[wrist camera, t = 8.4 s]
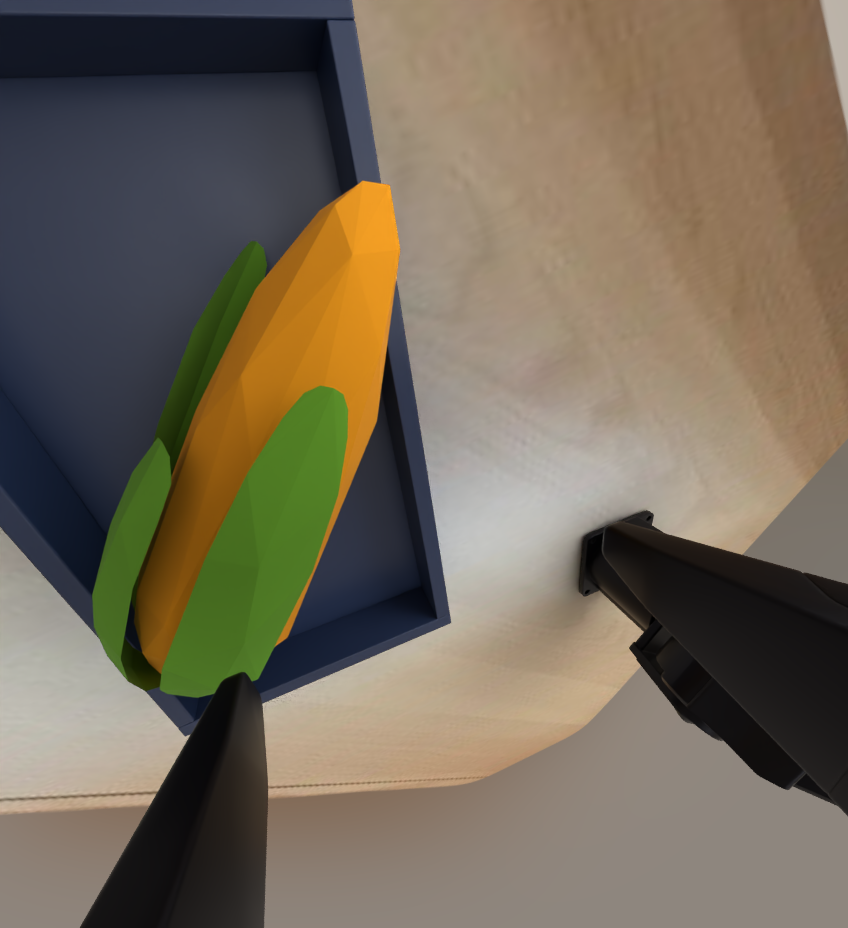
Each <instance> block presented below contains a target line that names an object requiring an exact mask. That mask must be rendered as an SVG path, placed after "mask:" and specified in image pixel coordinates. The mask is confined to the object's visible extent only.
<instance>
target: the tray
mask: <svg viewBox="0 0 848 928" xmlns="http://www.w3.org/2000/svg"><path fill="white" fill-rule="evenodd" d="M362 181H368V182H374V183H380V184H381V180H380V174H379V167H378V161H377V155H376V149H375V142H374V136H373V130H372V123H371V117H370V111H369V105H368V98H367V92H366V86H365V80H364V73H363V67H362V61H361V54H360V48H359V42H358V36H357V29H356V23H355V21H354V11H353V5H352V0H0V527H1V528H2V529H3V531H4V532H5V533H6V534H7V535H8V536H9V537H10V538H11V540H12V541H13V542H14V543H15V544H16V545H17V546H18V548H19V549H20V550H21V551H22V552H23V553H24V554H25V555H26V557H27V558H28V559H29V560H30V561H31V562H32V563H33V564H34V566H35V567H36V568H37V569H38V570H39V571H40V572H41V574H42V575H43V576H44V577H45V578H46V579H47V580H48V581H49V583H50V584H51V585H52V586H53V587H54V588H55V589H56V590H57V592H58V593H59V594H60V595H61V596H62V597H63V598H64V600H65V601H66V602H67V603H68V604H69V605H70V606H71V607H72V609H73V610H74V611H75V612H76V613H77V614H78V615H79V616H80V618H81V619H82V620H83V621H84V622H85V623H86V624H87V625H88V627H89V628H90V629H91V630H92V631H93V632H94V633H95V635H96V636H97V637H98V635H97V633H96V630H95V628H94V618H93V600H92V594H93V590H94V586H95V582H96V578H97V574H98V570H99V567H100V563H101V559H102V555H103V551H104V547H105V543H106V539H107V535H108V531H109V527H110V524H111V521H112V519H113V517H114V514H115V512H116V510H117V507H118V505H119V503H120V500H121V498H122V496H123V493H124V491H125V489H126V486H127V484H128V481H129V479H130V477H131V474H132V472H133V471H134V469H135V468H136V467H137V465H138V464H139V463H140V461H141V460H142V458H143V457H144V456H145V454H146V453H147V452H148V450H149V449H150V448H151V446H152V445H153V441H154V437H155V433H156V430H157V426H158V423H159V420H160V417H161V415H162V412H163V409H164V407H165V404H166V401H167V398H168V396H169V393H170V390H171V388H172V385H173V382H174V380H175V377H176V374H177V372H178V369H179V366H180V364H181V361H182V358H183V355H184V353H185V350H186V347H187V345H188V342H189V339H190V337H191V334H192V331H193V329H194V327H195V325H196V324H197V322H198V320H199V319H200V317H201V315H202V313H203V312H204V310H205V308H206V307H207V305H208V303H209V301H210V300H211V298H212V296H213V294H214V293H215V291H216V289H217V288H218V286H219V284H220V282H221V281H222V279H223V277H224V276H225V274H226V273H227V271H228V270H229V268H230V267H231V266H232V264H233V263H234V261H235V260H236V259H237V257H238V256H239V254H240V253H241V252H242V250H243V249H244V248H245V247H246V246H247V245H248V244H249V243H250V242H251V241H257V242H258V243H259V244H260V245H261V246H262V247H263V248H264V252H265V257H266V262H267V268H266V273H265V277H266V276H267V274H268V273H269V272H270V271H271V269H272V268H273V267H274V266H275V265H276V263H277V262H278V261H279V260H280V258H281V257H282V256H283V255H284V254H285V252H286V251H287V250H288V249H289V247H290V246H291V245H292V244H293V243H294V241H295V240H296V239H297V238H298V236H299V235H300V234H301V233H302V232H303V230H304V229H305V228H306V227H307V225H308V224H309V223H310V222H311V221H312V219H313V218H314V217H315V216H316V214H317V213H318V212H319V211H320V210H321V209H323V208H324V207H326V206H327V205H328V204H330V203H331V202H333V201H334V200H336V199H337V198H339V197H340V196H342V195H343V194H344V193H346V192H347V191H349V190H350V189H352V188H353V187H355V186H356V185H357V184H359V183H360V182H362ZM134 618H135V611H134V608H133V604H132V601H130V607H129V613H128V618H127V624H126V630H125V636H124V637H125V638H126V640H127V641H128V642H129V643H130V644H131V646H132V647H133V648H135V649H137V650H138V651H140V652H142V649H141V646H140V642H139V638H138V635H137V631H136V628H135V624H134ZM450 623H451V619H450V612H449V606H448V600H447V594H446V587H445V581H444V575H443V568H442V562H441V556H440V550H439V543H438V537H437V531H436V525H435V518H434V512H433V506H432V500H431V493H430V487H429V481H428V474H427V468H426V462H425V456H424V449H423V443H422V437H421V431H420V424H419V418H418V412H417V406H416V399H415V393H414V387H413V380H412V374H411V368H410V362H409V355H408V349H407V343H406V337H405V330H404V324H403V318H402V311H401V305H400V299H399V293H398V286H397V280H396V284H395V291H394V299H393V306H392V313H391V321H390V328H389V335H388V343H387V350H386V358H385V365H384V372H383V380H382V387H381V394H380V402H379V409H378V416H377V422H376V424H375V427H374V429H373V432H372V434H371V436H370V439H369V441H368V444H367V446H366V449H365V451H364V453H363V456H362V458H361V461H360V463H359V466H358V468H357V470H356V473H355V475H354V478H353V480H352V483H351V485H350V487H349V490H348V492H347V495H346V497H345V500H344V502H343V504H342V507H341V509H340V512H339V514H338V516H337V519H336V521H335V524H334V526H333V529H332V531H331V533H330V536H329V538H328V541H327V543H326V546H325V548H324V550H323V553H322V555H321V558H320V560H319V563H318V565H317V567H316V570H315V572H314V575H313V577H312V580H311V582H310V584H309V587H308V589H307V592H306V594H305V597H304V599H303V601H302V604H301V606H300V609H299V611H298V614H297V616H296V618H295V621H294V623H293V626H292V628H291V630H290V633H289V635H288V637H287V638H286V639H285V640H283V641H282V642H281V643H279V644H278V645H277V646H275V647H274V649H273V651H272V653H271V655H270V657H269V659H268V661H267V663H266V665H265V667H264V669H263V670H262V672H261V674H260V676H259V678H258V679H257V680H255V681H252V682H253V684H254V685H255V687H256V689H257V690H258V692H259V693H260V696H261V699H262V703H265V702H267V701H269V700H272V699H274V698H276V697H279V696H281V695H283V694H286V693H288V692H290V691H293V690H295V689H297V688H300V687H302V686H304V685H307V684H309V683H312V682H314V681H316V680H319V679H321V678H323V677H326V676H328V675H330V674H333V673H335V672H337V671H340V670H342V669H344V668H347V667H349V666H351V665H354V664H356V663H358V662H361V661H363V660H365V659H368V658H370V657H372V656H375V655H377V654H379V653H382V652H384V651H386V650H389V649H391V648H393V647H396V646H398V645H400V644H403V643H405V642H407V641H410V640H412V639H415V638H417V637H419V636H422V635H424V634H426V633H429V632H431V631H433V630H436V629H438V628H440V627H443V626H445V625H447V624H450ZM98 638H99V637H98ZM146 692H147V693H148V694H149V696H150V697H151V698H152V699H153V700H154V701H155V702H156V703H157V705H158V706H159V707H160V708H161V709H162V710H163V711H164V713H165V714H166V715H167V716H168V717H169V718H170V719H171V720H172V722H173V723H174V724H175V725H176V726H177V727H178V729H179V730H180V731H181V732H182V733H183V734H184V736H187V735H190V734H191V733H192V731H193V730H194V728H195V726H196V725H197V723H198V721H199V719H200V718H201V716H202V714H203V712H204V711H205V709H206V707H207V705H208V704H209V702H210V700H211V698H212V697H213V695H214V694H211V695H207V696H203V697H198V698H196V697H188V696H180V695H172V694H167V693H165V692H163V691H161V690H160V687H158V688H155V689H152V690H148V691H146Z"/></svg>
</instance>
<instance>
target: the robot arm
mask: <svg viewBox="0 0 848 928" xmlns="http://www.w3.org/2000/svg"><path fill="white" fill-rule="evenodd" d="M653 517H654V514H653V513H651V512H650V511H648V510H646V511H643V512H641V513H638V514H636V515H633V516H631V517H629V518H626V519H624V520H621V521H619V522H615V523H613V524H610V525H608V526H606V527H604V528H601V529H599V530H596V531H594V532H591V533H589V534H587V535H586V536H585V538H584V541H583V552H582V563H581V575H580V586H579V592H580V593H581V594H582V595H583V596H588V595H590V594H592V593H594V592H597V591H599V590H600V591H601V592H602V593H603V594H604V595H605V596H606V597H607V598H608V599H609V600H610V601H611V602H612V603H614V604H615V605H616V606H617V607H618V608H619V609H620V610H621V611H622V612H623V613H624V614H625V615H626V616H627V617H628V618H630V619H631V620H632V621H633V622H634V623H635V624H636V625H637V626H638V627H639V628H640V629H641V630H642V631H643V632H644V633H643V634H642V635H641V636H640V638H639V639H638V640H637V641H636V642H633V644H632V645H631V646H630V647H629V649H630V650H631V651H632V653H633V654H634V655H635V656H636V658H637V659H636V660H637V661H638V662H639V664H640V665H641V666H642V667H643V669H644V670H645V671H646V672H647V674H648V675H649V676H650V677H651V679H652V680H653V681H654V682H655V684H656V685H657V686H658V687H659V689H660V690H661V691H662V692H663V694H664V695H665V696H666V697H667V699H668V700H669V701H670V702H671V704H672V705H673V706H674V708H675V710H676V711H677V713H678V715H679V716H680V717H681V718H682V719H683V720H684V721H685V722H687V723H691V724H695V725H696V726H697V727H699V728H700V729H701V730H703V731H704V732H705V733H707V734H708V735H710V736H711V737H713V738H715V739H717V740H720V741H723V740H724V741H725V742H726V743H727V744H728V745H729V746H730V747H731V748H732V749H733V750H734V751H735V753H736V754H737V755H738V756H739V757H740V758H741V759H742V760H743V761H744V762H745V763H746V764H747V765H748V766H749V767H750V768H751V769H752V770H753V771H754V772H755V773H756V774H757V775H759V776H760V777H762V778H764V779H766V780H768V781H769V782H771V783H773V784H775V785H777V786H779V787H781V788H783V789H786V790H789V789H790V788H791V787H792V786H793V787H796V788H798V789H800V790H802V791H805V792H807V793H810V794H812V795H814V796H816V797H818V798H821V799H823V800H825V801H828V802H830V803H832V804H834V805H837V806H839V807H840V808H841V809H842V810H843V812H844V813H845V814H846V815H847V816H848V584H845V583H842V582H837V581H834V580H830V579H827V578H823V577H819V576H816V575H812V574H809V573H802V572H800V571H798V570H794V569H791V568H787V567H783V566H780V565H776V564H773V563H769V562H765V561H762V560H758V559H755V558H751V557H748V556H744V555H740V554H737V553H733V552H730V551H726V550H722V549H719V548H715V547H712V546H708V545H704V544H701V543H697V542H694V541H690V540H686V539H683V538H679V537H676V536H672V535H668V534H665V533H663V532H662V531H660V530H658V529H657V528H655V527H654V526H652V522H653ZM267 812H268V777H267V761H266V748H265V734H264V720H263V706H262V699H261V696H260V693H259V692H258V690H257V689H256V687H255V685H254V684H253V682H252V681H251V679H250V678H249V676H248V675H247V674H246V673H245V672H240V673H237V674H235V675H232V676H230V677H227V678H225V679H224V680H223V681H222V682H221V683H220V685H219V686H218V688H217V690H216V691H215V693H214V695H213V697H212V698H211V700H210V702H209V704H208V705H207V707H206V709H205V711H204V712H203V714H202V716H201V718H200V719H199V721H198V723H197V725H196V726H195V728H194V730H193V731H192V733H191V735H190V737H189V738H188V740H187V742H186V744H185V745H184V747H183V749H182V751H181V752H180V754H179V756H178V758H177V759H176V761H175V763H174V765H173V766H172V768H171V770H170V771H169V773H168V775H167V777H166V778H165V780H164V782H163V784H162V785H161V787H160V789H159V791H158V792H157V794H156V796H155V798H154V799H153V801H152V803H151V805H150V806H149V808H148V810H147V812H146V813H145V815H144V817H143V818H142V820H141V822H140V824H139V826H138V827H137V829H136V831H135V832H134V834H133V836H132V838H131V839H130V841H129V843H128V845H127V846H126V848H125V850H124V852H123V853H122V855H121V857H120V859H119V861H118V862H117V864H116V865H115V867H114V869H113V871H112V872H111V874H110V876H109V878H108V879H107V881H106V883H105V885H104V887H103V888H102V890H101V892H100V893H99V895H98V897H97V899H96V900H95V902H94V904H93V905H92V907H91V909H90V911H89V913H88V914H87V916H86V918H85V919H84V921H83V923H82V925H81V926H80V928H264V909H265V908H264V906H265V878H266V877H265V876H266V847H267V814H268V813H267Z"/></svg>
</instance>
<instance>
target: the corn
mask: <svg viewBox="0 0 848 928" xmlns="http://www.w3.org/2000/svg"><path fill="white" fill-rule="evenodd" d="M399 255H400V246H399V239H398V233H397V227H396V221H395V214H394V208H393V202H392V196H391V190H390V185H386V184H380V183H374V182H368V181H362V182H360V183H359V184H357V185H356V186H355V187H353V188H352V189H350V190H349V191H347V192H346V193H344V194H343V195H342V196H340V197H339V198H337V199H336V200H334V201H333V202H331V203H330V204H328V205H327V206H326V207H324V208H323V209H321V210H320V211H319V212H318V213H317V214H316V216H315V217H314V218H313V219H312V221H311V222H310V223H309V224H308V225H307V227H306V228H305V229H304V230H303V232H302V233H301V234H300V235H299V236H298V238H297V239H296V240H295V241H294V243H293V244H292V245H291V246H290V247H289V249H288V250H287V251H286V252H285V254H284V255H283V256H282V257H281V258H280V260H279V261H278V262H277V263H276V265H275V266H274V267H273V268H272V269H271V271H270V272H269V273H268V274H267V276H266V277H265V273H266V268H267V262H266V257H265V252H264V248H263V247H262V246H261V245H260V244H259V243H258V242H257V241H251V242H250V243H249V244H248V245H247V246H246V247H245V248H244V249H243V250H242V252H241V253H240V254H239V256H238V257H237V259H236V260H235V261H234V263H233V264H232V266H231V267H230V268H229V270H228V271H227V273H226V274H225V276H224V277H223V279H222V281H221V282H220V284H219V286H218V288H217V289H216V291H215V293H214V294H213V296H212V298H211V300H210V301H209V303H208V305H207V307H206V308H205V310H204V312H203V313H202V315H201V317H200V319H199V320H198V322H197V324H196V325H195V327H194V329H193V331H192V334H191V337H190V339H189V342H188V345H187V347H186V350H185V353H184V355H183V358H182V361H181V364H180V366H179V369H178V372H177V374H176V377H175V380H174V382H173V385H172V388H171V390H170V393H169V396H168V398H167V401H166V404H165V407H164V409H163V412H162V415H161V417H160V420H159V423H158V426H157V430H156V433H155V437H154V441H153V445H152V446H151V448H150V449H149V450H148V452H147V453H146V454H145V456H144V457H143V458H142V460H141V461H140V463H139V464H138V465H137V467H136V468H135V469H134V471H133V472H132V474H131V477H130V479H129V481H128V484H127V486H126V489H125V491H124V493H123V496H122V498H121V500H120V503H119V505H118V507H117V510H116V512H115V514H114V517H113V519H112V521H111V524H110V527H109V531H108V535H107V539H106V543H105V547H104V551H103V555H102V559H101V563H100V567H99V570H98V574H97V578H96V582H95V586H94V590H93V594H92V600H93V618H94V628H95V630H96V633H97V635H98V637H99V639H100V641H101V643H102V645H103V648H104V650H105V652H106V654H107V656H108V657H109V658H110V660H111V661H112V662H113V663H114V665H115V666H116V667H117V668H118V670H119V671H120V672H121V673H122V675H123V676H124V677H125V678H126V679H127V681H128V682H130V683H132V684H134V685H135V686H137V687H139V688H141V689H143V690H144V691H148V690H152V689H155V688H158V687H160V690H161V691H163V692H165V693H167V694H172V695H180V696H188V697H196V698H198V697H203V696H207V695H211V694H214V693H215V691H216V690H217V688H218V686H219V685H220V683H221V682H222V681H223V680H224V679H225V678H227V677H230V676H232V675H235V674H237V673H240V672H245V673H246V674H247V675H248V676H249V678H250V679H251V681H255V680H257V679H258V678H259V676H260V674H261V672H262V670H263V669H264V667H265V665H266V663H267V661H268V659H269V657H270V655H271V653H272V651H273V649H274V647H275V646H277V645H278V644H279V643H281V642H282V641H283V640H285V639H286V638H287V637H288V635H289V633H290V630H291V628H292V626H293V623H294V621H295V618H296V616H297V614H298V611H299V609H300V606H301V604H302V601H303V599H304V597H305V594H306V592H307V589H308V587H309V584H310V582H311V580H312V577H313V575H314V572H315V570H316V567H317V565H318V563H319V560H320V558H321V555H322V553H323V550H324V548H325V546H326V543H327V541H328V538H329V536H330V533H331V531H332V529H333V526H334V524H335V521H336V519H337V516H338V514H339V512H340V509H341V507H342V504H343V502H344V500H345V497H346V495H347V492H348V490H349V487H350V485H351V483H352V480H353V478H354V475H355V473H356V470H357V468H358V466H359V463H360V461H361V458H362V456H363V453H364V451H365V449H366V446H367V444H368V441H369V439H370V436H371V434H372V432H373V429H374V427H375V424H376V422H377V416H378V409H379V402H380V394H381V387H382V380H383V372H384V365H385V358H386V350H387V343H388V335H389V328H390V321H391V313H392V306H393V299H394V291H395V284H396V277H397V269H398V262H399ZM130 601H132V604H133V608H134V611H135V618H134V624H135V628H136V631H137V635H138V638H139V642H140V646H141V649H142V652H140V651H138V650H137V649H135V648H133V647H132V646H131V644H130V643H129V642H128V641H127V640H126V638H125V637H124V636H125V630H126V624H127V618H128V613H129V607H130Z"/></svg>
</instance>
